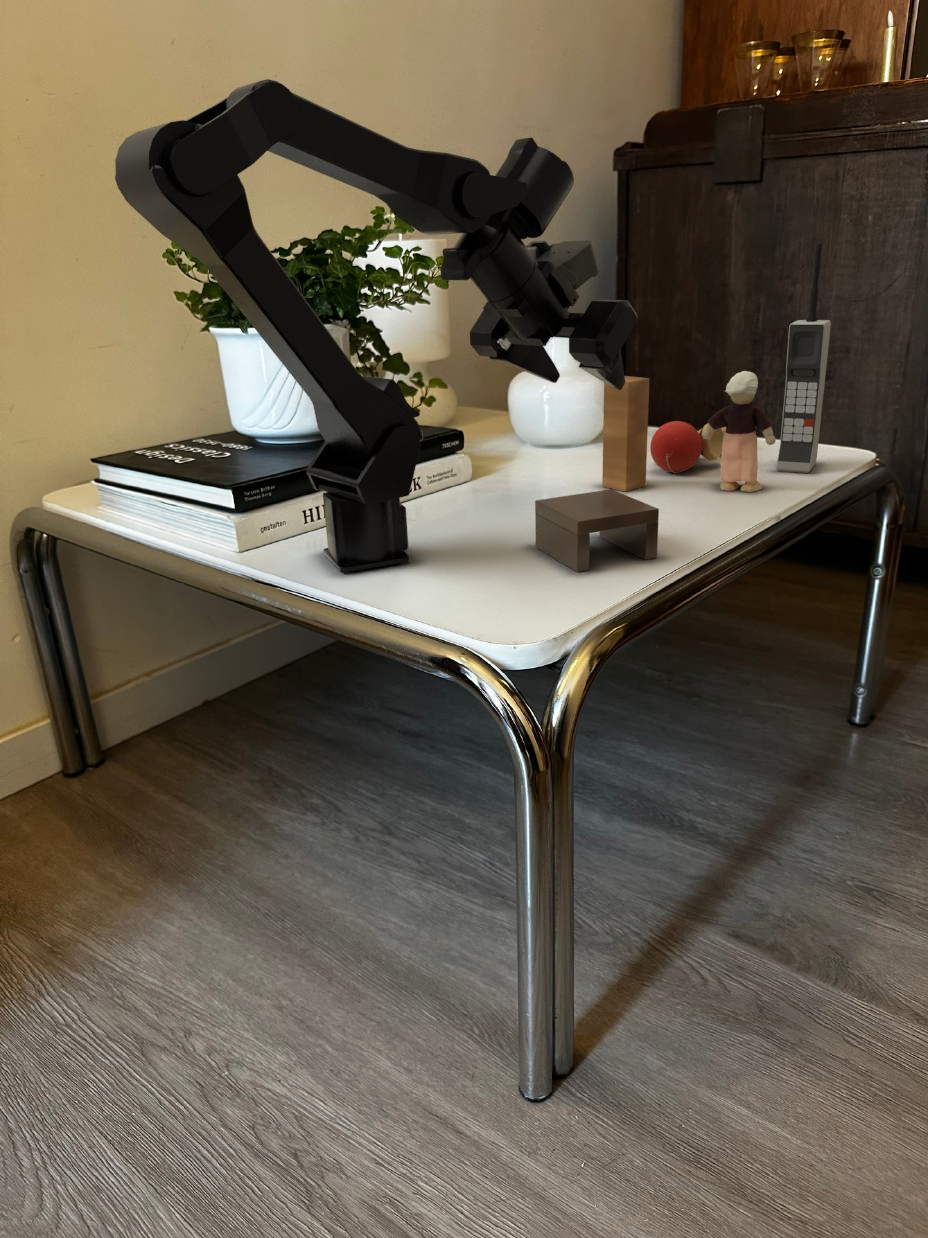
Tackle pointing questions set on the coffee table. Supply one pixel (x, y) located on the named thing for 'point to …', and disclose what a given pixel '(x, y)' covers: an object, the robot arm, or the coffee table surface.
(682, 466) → the kendama
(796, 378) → the vintage mobile phone
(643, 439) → the block
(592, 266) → the robot arm
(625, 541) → the shelf
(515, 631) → the coffee table surface
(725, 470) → the grandmother figurine
